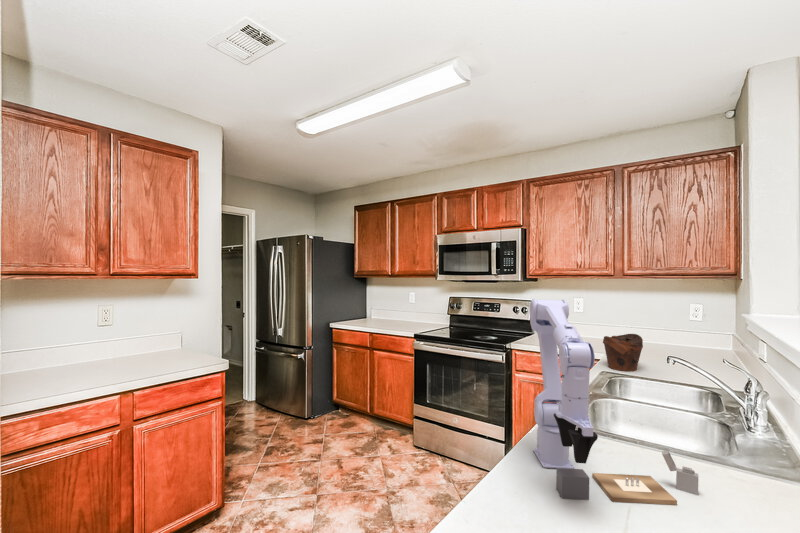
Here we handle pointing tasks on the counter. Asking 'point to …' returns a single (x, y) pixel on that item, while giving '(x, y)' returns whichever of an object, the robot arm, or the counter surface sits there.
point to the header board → (633, 489)
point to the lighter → (683, 475)
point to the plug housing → (572, 484)
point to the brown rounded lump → (623, 351)
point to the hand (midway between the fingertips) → (573, 453)
